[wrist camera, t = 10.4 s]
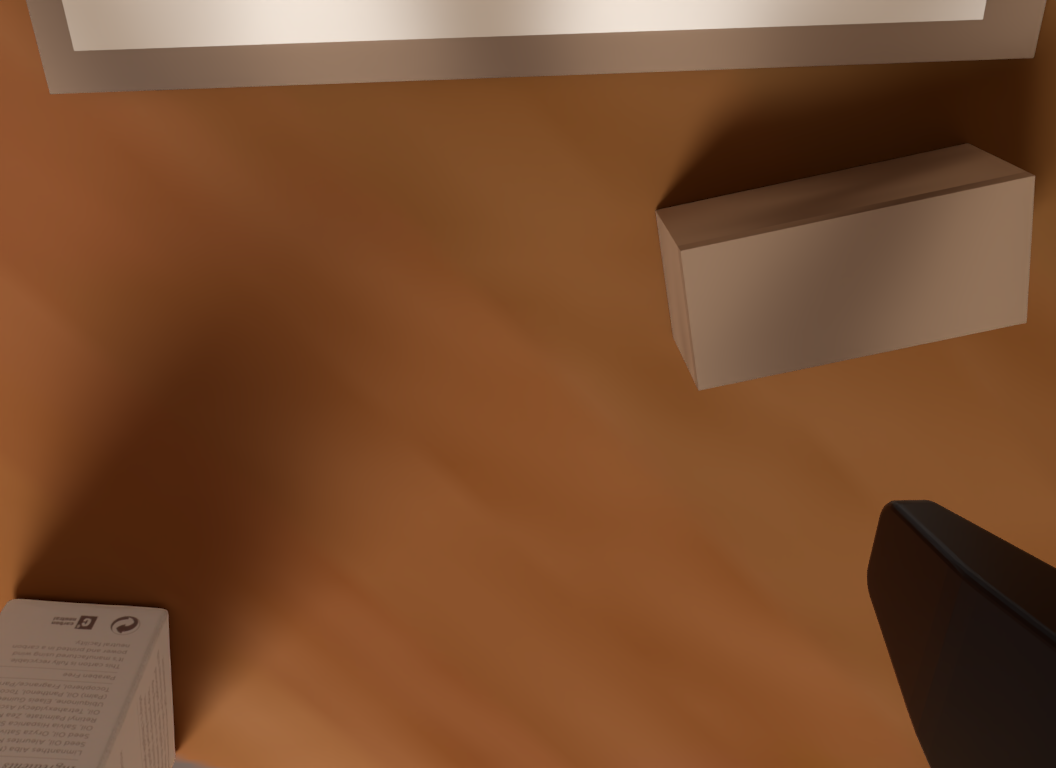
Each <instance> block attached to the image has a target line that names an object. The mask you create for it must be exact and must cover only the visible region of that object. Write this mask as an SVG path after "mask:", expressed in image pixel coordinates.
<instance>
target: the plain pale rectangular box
mask: <svg viewBox="0 0 1056 768" xmlns="http://www.w3.org/2000/svg"><path fill="white" fill-rule="evenodd" d="M1034 187H1035V175H1033V174H1031V173H1029V172H1027V171H1025V170H1023V169H1020V168H1018V167H1016V166H1014V165H1012V164H1010V163H1008V162H1006V161H1004V160H1002V159H1000V158H998V157H996V156H994V155H992V154H990V153H988V152H986V151H983V150H981V149H979V148H977V147H975V146H973V145H971V144H969V143H966V144H962V145H957V146H952V147H948V148H943V149H938V150H934V151H929V152H924V153H920V154H915V155H910V156H906V157H901V158H896V159H892V160H887V161H882V162H878V163H873V164H868V165H864V166H859V167H854V168H850V169H845V170H840V171H836V172H831V173H826V174H822V175H817V176H812V177H808V178H803V179H798V180H794V181H789V182H784V183H780V184H775V185H770V186H766V187H761V188H757V189H752V190H747V191H743V192H738V193H733V194H729V195H724V196H719V197H715V198H710V199H705V200H701V201H696V202H691V203H687V204H682V205H677V206H673V207H668V208H663V209H659V210H655V212H656V219H657V226H658V233H659V240H660V247H661V254H662V261H663V268H664V275H665V283H666V290H667V297H668V304H669V311H670V318H671V325H672V332H673V338H674V340H675V342H676V344H677V346H678V348H679V350H680V353H681V355H682V357H683V359H684V361H685V363H686V365H687V367H688V369H689V371H690V373H691V375H692V378H693V380H694V382H695V384H696V386H697V388H698V390H703V389H708V388H713V387H718V386H723V385H728V384H732V383H737V382H742V381H747V380H752V379H757V378H761V377H766V376H771V375H776V374H781V373H786V372H791V371H795V370H800V369H805V368H810V367H815V366H820V365H824V364H829V363H834V362H839V361H844V360H849V359H853V358H858V357H863V356H868V355H873V354H878V353H882V352H887V351H892V350H897V349H902V348H907V347H911V346H916V345H921V344H926V343H931V342H936V341H940V340H945V339H950V338H955V337H960V336H965V335H969V334H974V333H979V332H984V331H989V330H994V329H998V328H1003V327H1008V326H1013V325H1018V324H1023V323H1026V322H1027V305H1028V288H1029V271H1030V254H1031V237H1032V221H1033V204H1034Z"/></svg>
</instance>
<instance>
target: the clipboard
mask: <svg viewBox="0 0 1056 768" xmlns="http://www.w3.org/2000/svg"><path fill="white" fill-rule="evenodd" d="M26 2H27V6H28V10H29V14H30V18H31V21H32V25H33V29H34V33H35V37H36V41H37V45H38V49H39V53H40V56H41V60H42V64H43V68H44V72H45V76H46V80H47V84H48V88H49V92H50V94H64V93H91V92H118V91H146V90H173V89H200V88H228V87H255V86H282V85H310V84H337V83H364V82H392V81H419V80H446V79H473V78H501V77H528V76H555V75H583V74H610V73H637V72H665V71H692V70H719V69H747V68H774V67H801V66H829V65H856V64H883V63H911V62H938V61H965V60H992V59H1020V58H1034V55H1035V50H1036V45H1037V41H1038V36H1039V32H1040V27H1041V23H1042V18H1043V13H1044V9H1045V4H1046V0H26Z"/></svg>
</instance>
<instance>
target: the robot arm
mask: <svg viewBox="0 0 1056 768" xmlns="http://www.w3.org/2000/svg"><path fill="white" fill-rule="evenodd" d="M867 585H868V590H869V594H870V598H871V601H872V604H873V607H874V610H875V613H876V616H877V619H878V622H879V625H880V628H881V631H882V634H883V637H884V640H885V643H886V646H887V649H888V652H889V656H890V659H891V662H892V665H893V668H894V671H895V674H896V677H897V680H898V683H899V686H900V689H901V692H902V695H903V698H904V701H905V704H906V707H907V710H908V713H909V716H910V719H911V721H912V724H913V727H914V730H915V732H916V735H917V737H918V740H919V742H920V744H921V747H922V749H923V751H924V754H925V756H926V758H927V761H928V763H929V765H930V767H931V768H1056V568H1054V567H1052V566H1051V565H1049V564H1047V563H1045V562H1043V561H1041V560H1040V559H1038V558H1036V557H1034V556H1032V555H1030V554H1029V553H1027V552H1025V551H1023V550H1021V549H1019V548H1018V547H1016V546H1014V545H1012V544H1010V543H1008V542H1006V541H1005V540H1003V539H1001V538H999V537H997V536H995V535H994V534H992V533H990V532H988V531H986V530H984V529H983V528H981V527H979V526H977V525H975V524H973V523H972V522H970V521H968V520H966V519H964V518H962V517H961V516H959V515H957V514H955V513H953V512H951V511H950V510H948V509H946V508H944V507H942V506H940V505H938V504H937V503H935V502H932V501H929V500H901V501H891V502H889V503H888V504H886V505H885V506H884V508H883V509H882V512H881V514H880V518H879V522H878V526H877V530H876V535H875V539H874V543H873V547H872V552H871V556H870V560H869V564H868V570H867Z"/></svg>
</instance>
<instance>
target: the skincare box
mask: <svg viewBox="0 0 1056 768" xmlns="http://www.w3.org/2000/svg"><path fill="white" fill-rule="evenodd" d="M175 757H176V755H175V740H174V717H173V695H172V680H171V660H170V642H169V615H168V611H167V610H166V609H162V608H151V607H138V606H123V605H103V604H89V603H70V602H57V601H44V600H31V599H13V600H10V601H8V603H7V604H6V605H5V607H4V608H3V610H2V612H1V613H0V768H172V766H173V764H174V761H175Z"/></svg>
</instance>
